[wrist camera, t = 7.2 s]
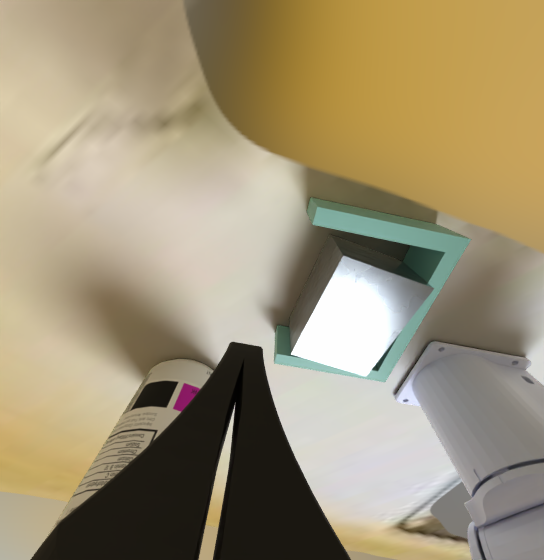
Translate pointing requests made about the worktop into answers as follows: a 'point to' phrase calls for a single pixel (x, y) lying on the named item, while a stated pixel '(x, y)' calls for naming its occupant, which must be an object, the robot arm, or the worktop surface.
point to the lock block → (354, 306)
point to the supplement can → (142, 422)
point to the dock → (420, 258)
